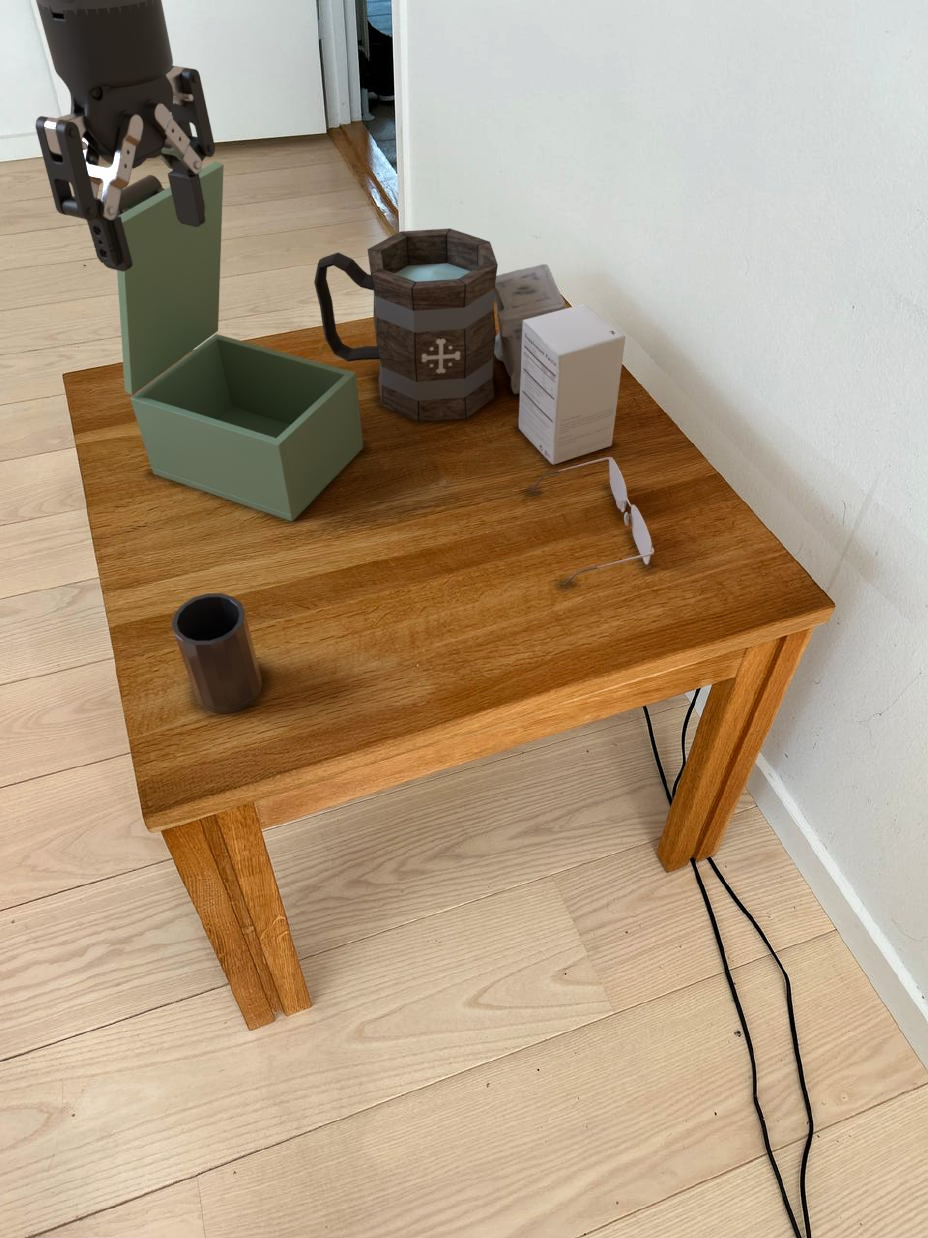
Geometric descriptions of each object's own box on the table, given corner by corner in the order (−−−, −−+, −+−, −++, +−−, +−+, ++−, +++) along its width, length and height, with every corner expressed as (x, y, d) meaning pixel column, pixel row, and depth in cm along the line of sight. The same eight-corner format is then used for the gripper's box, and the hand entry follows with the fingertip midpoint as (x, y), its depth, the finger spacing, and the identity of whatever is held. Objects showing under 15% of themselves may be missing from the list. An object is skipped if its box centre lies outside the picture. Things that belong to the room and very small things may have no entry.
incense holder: (483, 352, 108) (483, 266, 101) (552, 346, 109) (558, 261, 101) (497, 399, 101) (499, 310, 94) (571, 392, 102) (579, 304, 95)
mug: (509, 364, 106) (513, 235, 95) (479, 431, 97) (481, 296, 86) (347, 342, 110) (334, 215, 99) (305, 404, 101) (285, 272, 90)
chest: (363, 447, 95) (356, 372, 89) (292, 522, 87) (278, 445, 81) (231, 407, 100) (215, 333, 94) (153, 474, 92) (129, 398, 86)
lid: (224, 164, 80) (173, 137, 81) (122, 223, 72) (66, 193, 72) (218, 330, 94) (175, 307, 94) (132, 395, 86) (85, 369, 86)
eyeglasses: (652, 577, 82) (656, 544, 79) (564, 594, 81) (564, 561, 78) (608, 481, 91) (610, 448, 88) (529, 495, 91) (528, 462, 88)
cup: (203, 722, 71) (180, 653, 65) (189, 674, 74) (165, 605, 69) (269, 700, 72) (252, 631, 67) (252, 655, 76) (234, 585, 70)
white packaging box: (576, 410, 100) (587, 300, 91) (613, 447, 95) (628, 335, 86) (515, 428, 98) (520, 317, 88) (550, 467, 93) (559, 354, 84)
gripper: (125, -39, 64) (176, 202, 75) (-36, 6, 54) (50, 273, 66) (215, -28, 61) (253, 219, 73) (62, 21, 52) (133, 295, 64)
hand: (156, 244), depth 69 cm, fingers open, 8 cm apart
